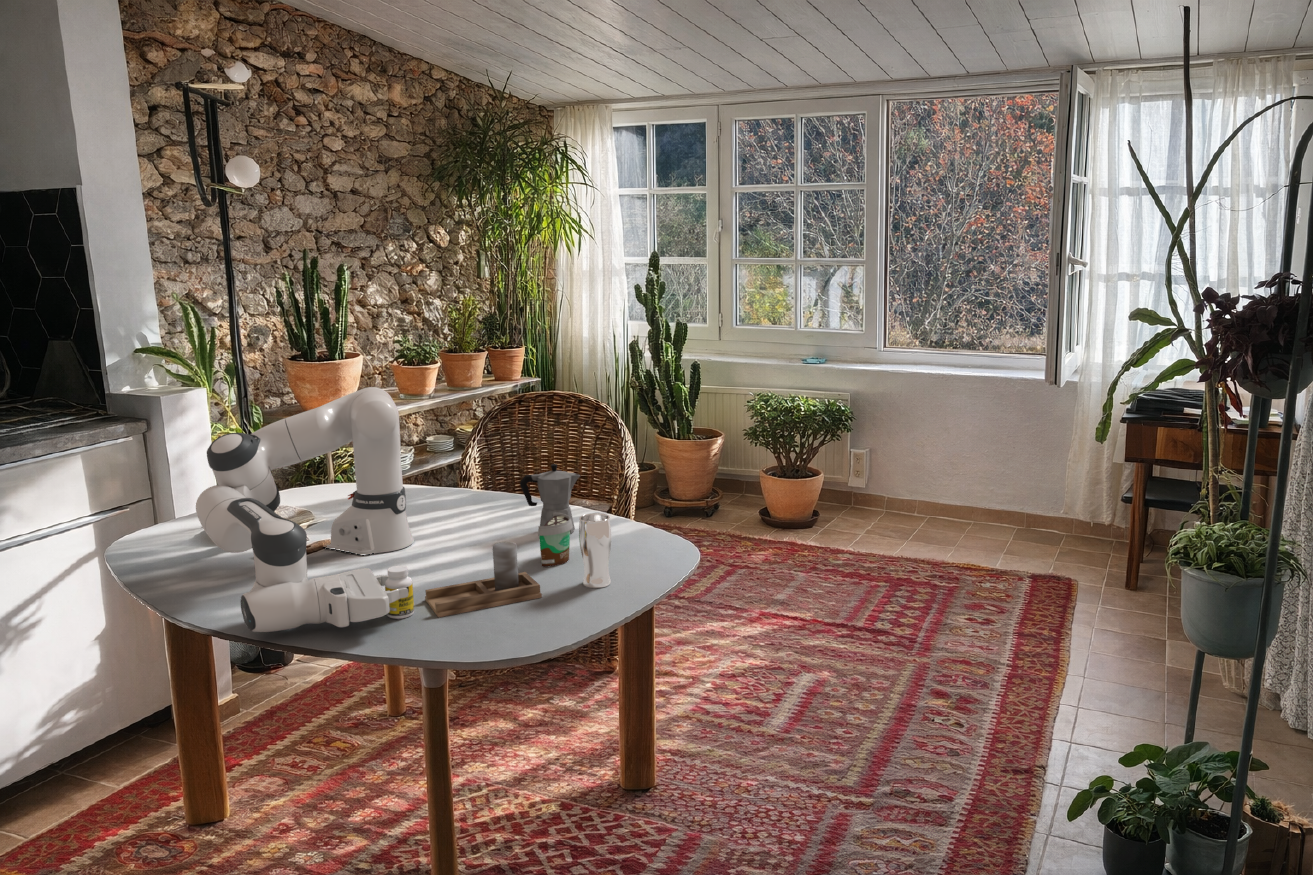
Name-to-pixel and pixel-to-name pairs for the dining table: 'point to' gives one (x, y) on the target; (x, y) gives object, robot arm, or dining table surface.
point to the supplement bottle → (396, 580)
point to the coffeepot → (552, 492)
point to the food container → (555, 540)
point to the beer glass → (595, 549)
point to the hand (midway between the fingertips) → (403, 585)
